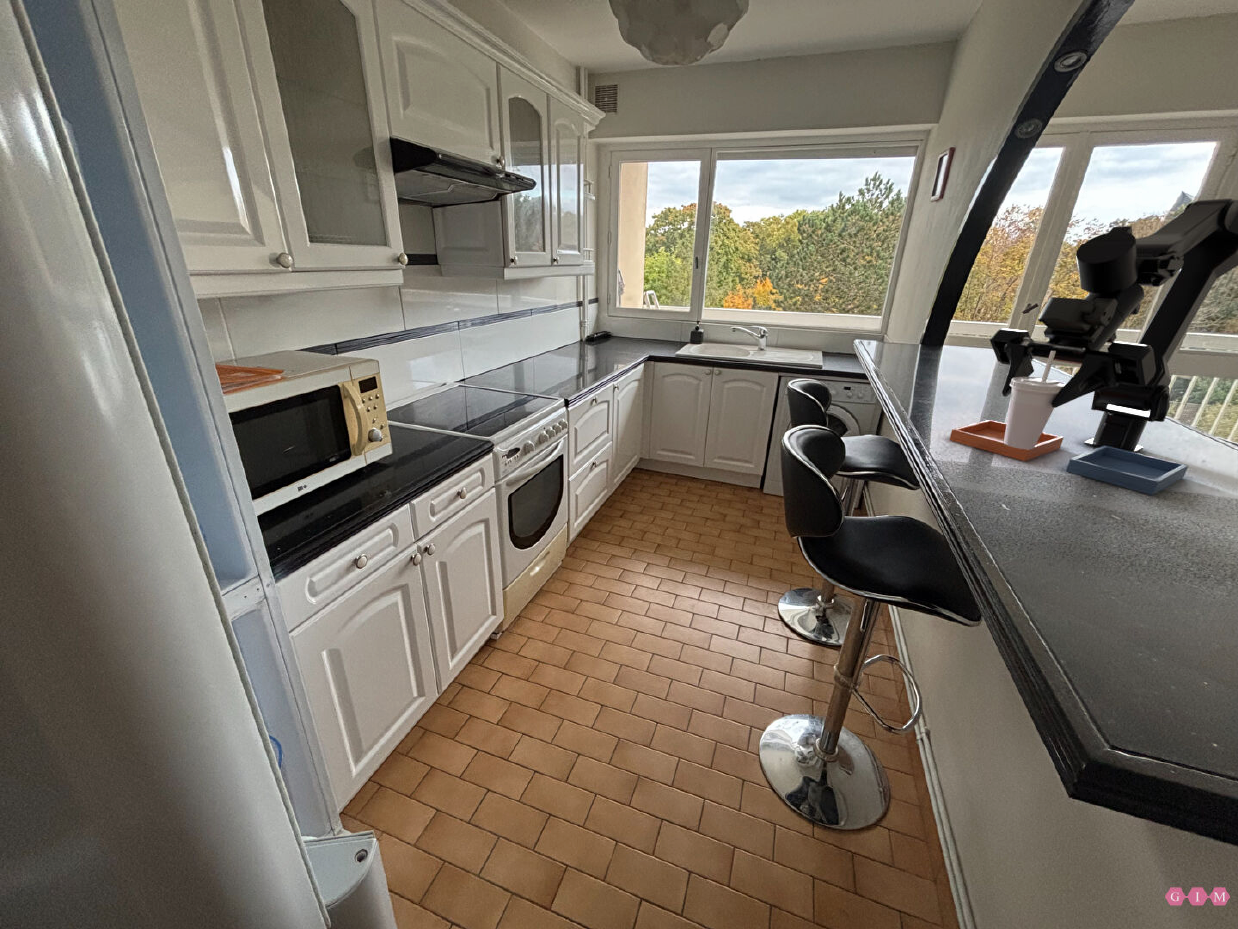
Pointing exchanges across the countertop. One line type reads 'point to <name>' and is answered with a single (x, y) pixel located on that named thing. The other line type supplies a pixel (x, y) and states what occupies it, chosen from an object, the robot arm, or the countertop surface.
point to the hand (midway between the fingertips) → (1027, 399)
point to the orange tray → (1002, 440)
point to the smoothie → (1030, 407)
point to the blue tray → (1127, 469)
